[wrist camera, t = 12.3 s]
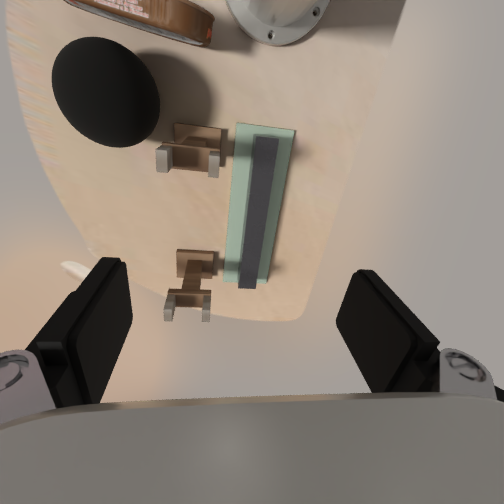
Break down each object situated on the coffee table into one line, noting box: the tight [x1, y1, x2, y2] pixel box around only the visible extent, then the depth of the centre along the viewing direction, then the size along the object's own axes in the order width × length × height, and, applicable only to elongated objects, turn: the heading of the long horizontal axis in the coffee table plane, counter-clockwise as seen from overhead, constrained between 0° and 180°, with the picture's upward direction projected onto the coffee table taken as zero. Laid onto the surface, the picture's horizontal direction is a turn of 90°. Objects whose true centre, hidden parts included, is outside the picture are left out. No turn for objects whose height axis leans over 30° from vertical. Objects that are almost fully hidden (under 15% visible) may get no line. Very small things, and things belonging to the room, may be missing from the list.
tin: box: [64, 0, 215, 47], centre depth 25 cm, size 15×3×8 cm, turn 76°
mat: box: [223, 123, 294, 284], centre depth 41 cm, size 26×8×1 cm, turn 173°
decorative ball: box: [52, 37, 160, 148], centre depth 28 cm, size 10×10×10 cm
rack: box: [156, 123, 221, 322], centre depth 34 cm, size 24×6×13 cm, turn 173°
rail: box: [237, 134, 279, 289], centre depth 40 cm, size 24×3×3 cm, turn 173°
